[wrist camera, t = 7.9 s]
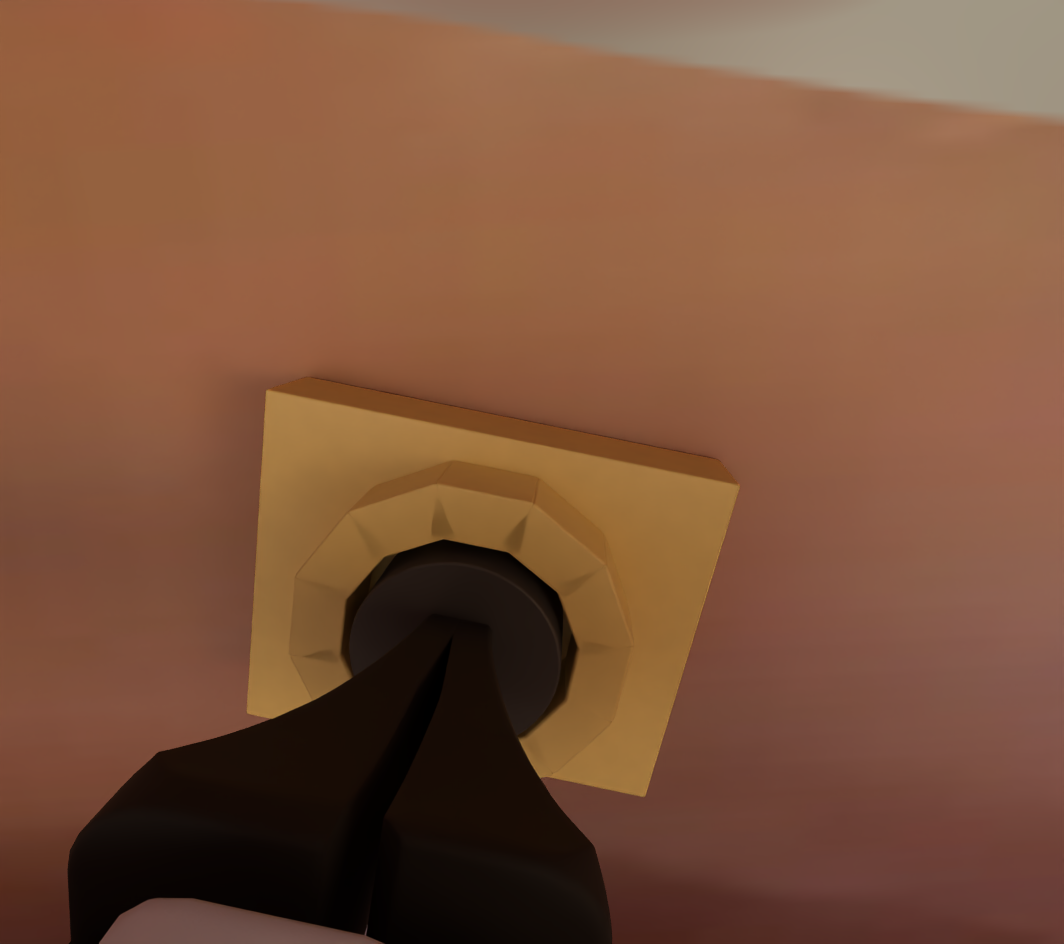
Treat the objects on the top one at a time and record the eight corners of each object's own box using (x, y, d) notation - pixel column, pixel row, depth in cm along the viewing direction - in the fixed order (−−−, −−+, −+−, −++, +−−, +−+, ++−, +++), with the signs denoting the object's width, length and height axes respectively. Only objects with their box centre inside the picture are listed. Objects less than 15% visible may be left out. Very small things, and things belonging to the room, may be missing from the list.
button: (581, 547, 14) (581, 587, 12) (543, 709, 16) (538, 769, 14) (389, 508, 14) (359, 542, 12) (368, 672, 16) (338, 726, 14)
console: (719, 459, 16) (764, 513, 12) (637, 740, 18) (652, 857, 15) (306, 376, 16) (220, 403, 12) (283, 666, 19) (206, 763, 15)
